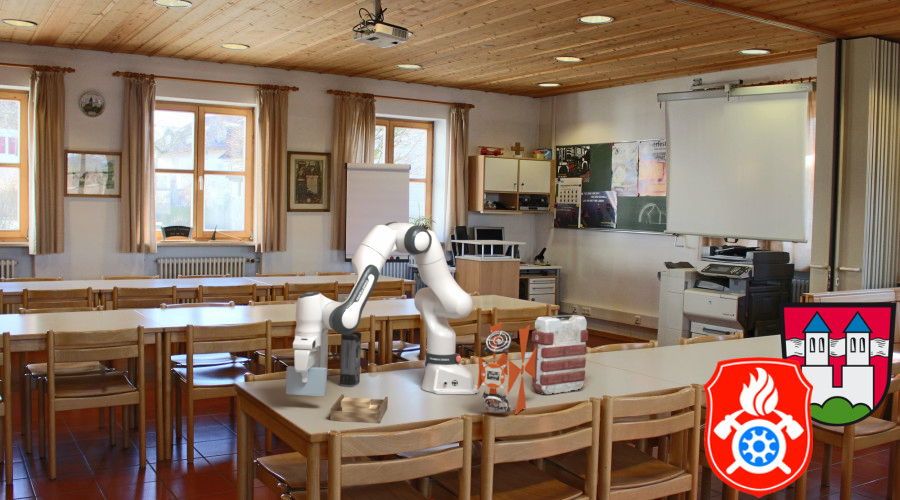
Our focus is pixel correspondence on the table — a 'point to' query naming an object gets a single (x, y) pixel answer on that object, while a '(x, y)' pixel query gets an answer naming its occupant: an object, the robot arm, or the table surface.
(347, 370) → the electronic device
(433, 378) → the robot arm
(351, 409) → the offcut stack
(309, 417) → the table surface
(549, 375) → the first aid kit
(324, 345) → the hard drive box
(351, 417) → the wooden tray
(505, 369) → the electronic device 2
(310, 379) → the blue-grey flat box
